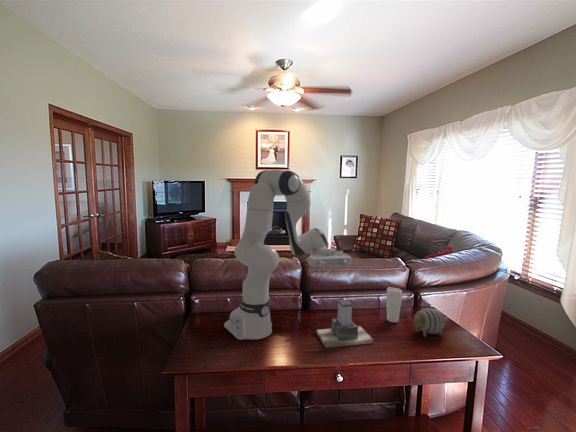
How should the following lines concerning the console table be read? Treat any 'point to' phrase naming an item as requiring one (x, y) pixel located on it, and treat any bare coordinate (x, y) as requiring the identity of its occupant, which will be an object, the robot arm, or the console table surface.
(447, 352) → the console table surface
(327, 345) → the post socket
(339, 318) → the grey tall block
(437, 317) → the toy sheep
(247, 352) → the console table surface
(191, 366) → the console table surface
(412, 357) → the console table surface
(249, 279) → the robot arm
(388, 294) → the drinking glass
